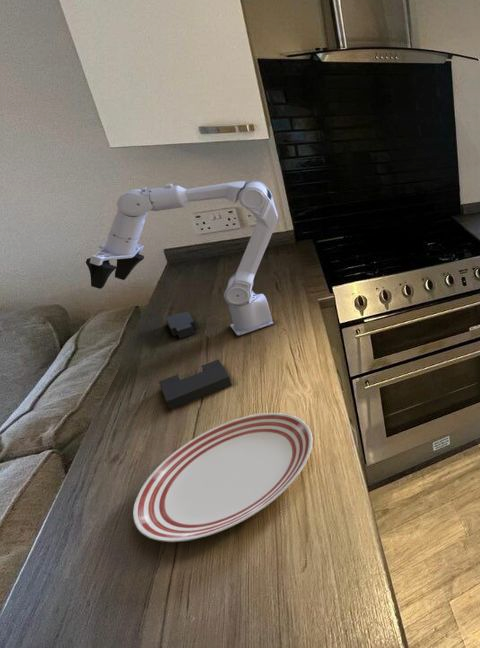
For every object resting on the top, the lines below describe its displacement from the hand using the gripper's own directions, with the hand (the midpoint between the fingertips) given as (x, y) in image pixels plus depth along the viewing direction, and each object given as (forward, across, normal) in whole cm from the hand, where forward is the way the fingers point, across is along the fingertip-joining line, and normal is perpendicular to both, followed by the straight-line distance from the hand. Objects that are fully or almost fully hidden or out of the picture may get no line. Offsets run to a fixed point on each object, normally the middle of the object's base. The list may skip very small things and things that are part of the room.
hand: (108, 282), depth 112 cm
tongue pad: (+14, -13, +14) cm, 24 cm away
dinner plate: (+5, +45, +54) cm, 70 cm away
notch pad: (+10, +16, +33) cm, 38 cm away
